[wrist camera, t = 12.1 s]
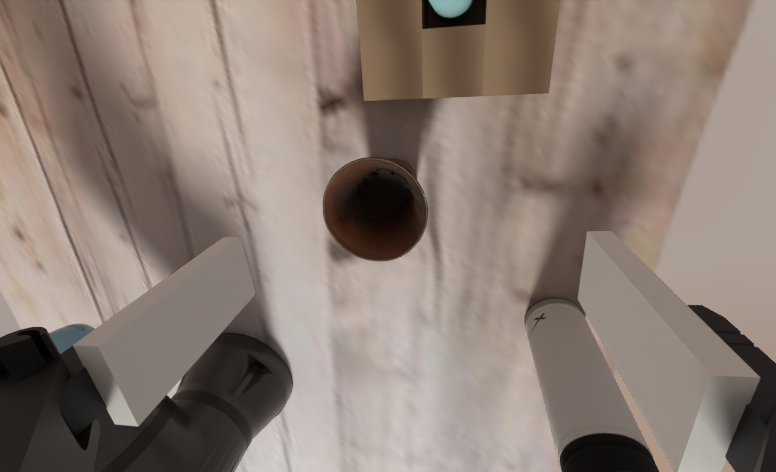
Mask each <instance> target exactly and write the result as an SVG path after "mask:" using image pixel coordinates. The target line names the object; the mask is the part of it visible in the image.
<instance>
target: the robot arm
mask: <svg viewBox="0 0 776 472" xmlns="http://www.w3.org/2000/svg"><path fill="white" fill-rule="evenodd" d="M255 294H256V293H255V289H254V286H253V282H252V278H251V275H250V271H249V267H248V263H247V260H246V256H245V252H244V248H243V245H242V241H241V237H223V238H221V239H220V240H219V241H217V242H216V243H214V244H213V245H212V246H210V247H209V248H208V249H206V250H205V251H203V252H202V253H201V254H199V255H198V256H196V257H195V258H194V259H192V260H191V261H189V262H188V263H187V264H185V265H184V266H182V267H181V268H180V269H178V270H177V271H175V272H174V273H173V274H171V275H170V276H168V277H167V278H166V279H164V280H163V281H162V282H160V283H159V284H157V285H156V286H155V287H153V288H152V289H150V290H149V291H148V292H146V293H145V294H143V295H142V296H141V297H139V298H138V299H136V300H135V301H134V302H132V303H131V304H129V305H128V306H127V307H125V308H124V309H123V310H121V311H120V312H118V313H117V314H116V315H114V316H113V317H111V318H110V319H109V320H107V321H106V322H104V323H103V324H102V325H100V326H99V327H97V328H96V329H94V328H93V327H91V326H89V325H86V324H73V325H68V326H65V327H63V328H60V329H58V330H55V331H53V332H51V333H48V331H47V330H46V329H45V328H43V327H31V328H26V329H22V330H18V331H16V332H13V333H10V334H7V335H5V336H3V337H1V338H0V472H235V470H236V468H237V466H238V464H239V463H240V461H241V459H242V457H243V455H244V453H245V452H246V450H247V448H248V446H249V444H250V443H251V441H252V439H253V438H254V437H255V436H256V435H257V434H258V433H259V432H260V431H261V430H262V429H263V428H264V427H265V426H266V425H267V424H268V423H269V422H270V421H271V420H272V419H273V418H274V417H276V416H277V415H278V414H279V413H280V412H281V411H282V410H283V408H284V407H285V405H286V403H287V401H288V399H289V397H290V395H291V392H292V378H291V375H290V372H289V370H288V368H287V366H286V365H285V363H284V362H283V360H282V359H281V358H280V357H279V356H278V355H277V354H276V353H275V352H274V351H273V350H272V349H270V348H269V347H267V346H266V345H264V344H263V343H261V342H259V341H257V340H255V339H253V338H250V337H247V336H244V335H239V334H231V333H226V334H221V333H222V332H223V331H224V329H225V328H226V327H227V326H228V325H229V324H230V323H231V322H232V320H233V319H234V318H235V317H236V316H237V315H238V314H239V313H240V311H241V310H242V309H243V308H244V307H245V306H246V305H247V303H248V302H249V301H250V300H251V299H252V298H253V297H254V296H255ZM578 301H579V302H580V304H581V306H582V308H583V310H584V311H585V313H586V315H587V317H588V319H589V320H590V322H591V324H592V326H593V327H594V329H595V331H596V333H597V335H598V336H599V338H600V340H601V342H602V344H603V345H604V347H605V349H606V351H607V352H608V354H609V356H610V358H611V360H612V361H613V363H614V365H615V367H616V369H617V370H618V372H619V374H620V376H621V377H622V379H623V381H624V383H625V384H626V386H627V388H628V390H629V392H630V393H631V395H632V397H633V399H634V401H635V402H636V404H637V406H638V408H639V410H640V411H641V413H642V415H643V417H644V418H645V420H646V422H647V424H648V426H649V428H650V429H651V431H652V433H653V434H654V436H655V438H656V440H657V442H658V444H659V445H660V447H661V449H662V451H663V453H664V454H665V456H666V458H667V460H668V461H669V463H670V465H671V467H672V469H673V470H674V472H721V471H722V469H723V466H724V464H725V462H726V459H727V460H728V461H729V463H730V464H731V466H732V467H733V469H734V470H735V472H776V363H775V362H773V361H772V360H771V359H770V358H769V357H768V356H767V355H766V354H765V353H764V352H762V351H761V350H760V349H759V348H758V347H754V343H752V342H751V341H750V340H749V339H748V338H747V337H746V336H745V335H741V334H740V331H739V330H738V329H737V328H735V327H734V326H733V325H732V324H731V323H730V322H729V321H728V320H727V319H726V318H724V317H723V316H721V315H719V314H717V313H715V312H713V311H711V310H710V309H708V308H706V307H704V306H702V305H686V304H685V303H684V302H683V301H682V300H681V299H680V298H679V297H678V296H677V295H676V294H675V293H674V292H673V291H672V290H671V289H670V288H669V287H668V286H667V285H666V284H665V283H664V282H663V281H662V280H661V279H660V278H659V277H658V276H657V275H656V274H655V273H654V272H653V271H652V270H651V269H650V268H649V267H648V266H647V265H646V264H645V263H644V262H643V261H642V260H641V259H640V258H638V257H637V256H636V255H635V254H634V253H633V252H632V251H631V250H630V249H629V248H628V247H627V246H626V245H625V244H624V243H623V242H622V241H621V240H620V239H619V238H618V237H617V236H616V235H615V234H614V233H613V232H612V231H587V236H586V243H585V250H584V257H583V264H582V271H581V278H580V285H579V292H578ZM182 377H183V378H182ZM181 378H182V380H181V383H180V385H179V387H178V389H177V392H176V393H175V395H174V396H173V397H172V398H171V399H170V398H169V397H168V396H167V394H168V393H169V392H170V390H171V389H172V388H173V387H174V386H175V385H176V384H177V382H178V381H179V380H180V379H181Z"/></svg>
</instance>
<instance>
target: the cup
mask: <svg viewBox="0 0 776 472" xmlns="http://www.w3.org/2000/svg"><path fill="white" fill-rule="evenodd" d="M323 216H324V220H325V223H326V226H327V228H328V230H329V232H330V234H331V235H332V237H333V238H334V239H335V241H336V242H337V243H338V244H339V245H340V246H341V247H342V248H343V249H345V250H346V251H347V252H349V253H350V254H352V255H354V256H356V257H359V258H362V259H365V260H370V261H389V260H393V259H397V258H399V257H401V256H403V255H405V254H406V253H408V252H409V251H410V250H411V249H412V248H413V247H414V246H415V245H416V244H417V243H418V242H419V240H420V239H421V237H422V235H423V233H424V231H425V228H426V225H427V219H428V206H427V201H426V197H425V194H424V192H423V190H422V188H421V186H420V184H419V183H418V181H417V179H416V175H415V172H414V170H413V169H412V168H411V166H410V165H408V164H407V163H406V162H404V161H402V160H398V159H385V158H380V157H368V158H362V159H358V160H355V161H352V162H350V163H348V164H346V165H345V166H343V167H342V168H341V169H339V170H338V171H337V172H336V173H335V174H334V175H333V177H332V178H331V180H330V181H329V183H328V185H327V187H326V190H325V193H324V198H323Z"/></svg>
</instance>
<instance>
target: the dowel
mask: <svg viewBox="0 0 776 472" xmlns="http://www.w3.org/2000/svg"><path fill="white" fill-rule="evenodd" d="M429 2H430V4H431V5H432V7H433V9H434V11H435V12H436V14H437V16H438V17H439V18H440V19H441V20H442V21H444V22H446V23H450V24H454V23H458V22H460V21H462V20H463V19H465V18H466V17H467V16H468V14H469V13H470V11H471V9H472V6H473V2H474V0H429Z"/></svg>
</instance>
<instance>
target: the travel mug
mask: <svg viewBox="0 0 776 472" xmlns="http://www.w3.org/2000/svg"><path fill="white" fill-rule="evenodd" d="M525 327H526V331H527V335H528V339H529V344H530V348H531V352H532V356H533V360H534V364H535V368H536V372H537V376H538V380H539V384H540V388H541V392H542V396H543V400H544V404H545V408H546V412H547V416H548V420H549V424H550V428H551V433H552V437H553V441H554V445H555V449H556V453H557V456H558V461H559V465H560V468H561V470H562V472H659V470H658V468H657V466H656V464H655V462H654V460H653V456H652V454H651V452H650V450H649V448H648V446H647V444H646V442H645V439H644V437H643V436H642V434H641V431H640V429H639V427H638V425H637V423H636V421H635V419H634V417H633V415H632V413H631V411H630V409H629V407H628V405H627V403H626V401H625V399H624V397H623V395H622V393H621V391H620V389H619V387H618V385H617V383H616V381H615V378H614V376H613V374H612V372H611V370H610V368H609V366H608V364H607V362H606V360H605V358H604V356H603V354H602V352H601V350H600V348H599V346H598V344H597V342H596V340H595V338H594V336H593V334H592V332H591V330H590V328H589V326H588V324H587V322H586V320H585V317H584V315H583V313H582V311H581V310H580V309H579V307H578V306H576V305H575V304H574V303H572V302H570V301H568V300H564V299H558V298H551V299H546V300H543V301H540V302H538V303H536V304H535V305H534V306H532V307H531V308H530V309H529V311H528V312H527V314H526V316H525Z"/></svg>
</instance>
